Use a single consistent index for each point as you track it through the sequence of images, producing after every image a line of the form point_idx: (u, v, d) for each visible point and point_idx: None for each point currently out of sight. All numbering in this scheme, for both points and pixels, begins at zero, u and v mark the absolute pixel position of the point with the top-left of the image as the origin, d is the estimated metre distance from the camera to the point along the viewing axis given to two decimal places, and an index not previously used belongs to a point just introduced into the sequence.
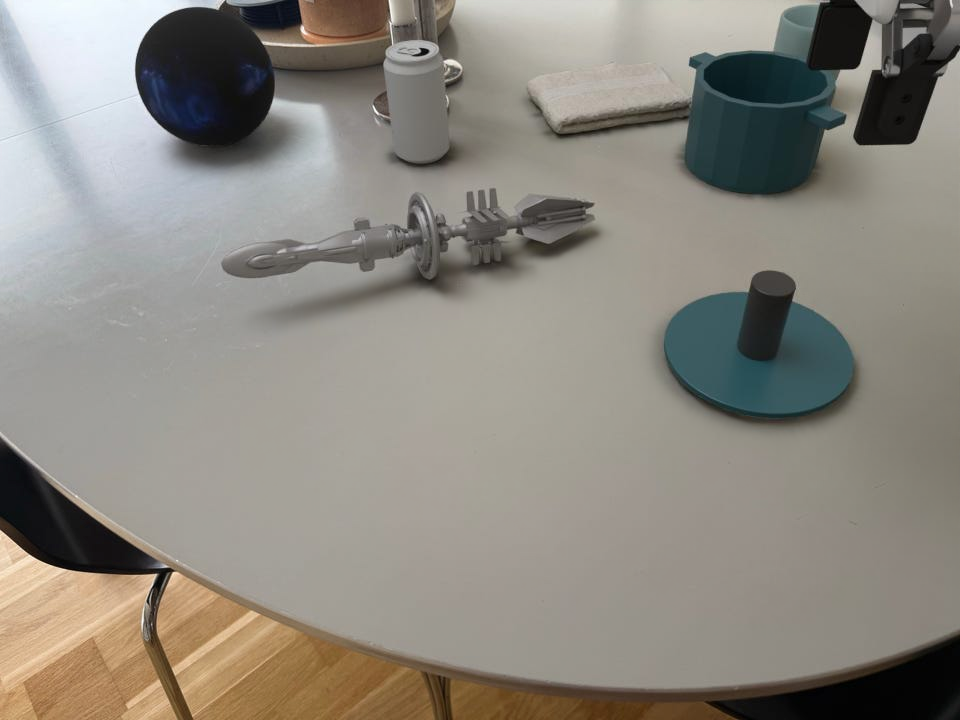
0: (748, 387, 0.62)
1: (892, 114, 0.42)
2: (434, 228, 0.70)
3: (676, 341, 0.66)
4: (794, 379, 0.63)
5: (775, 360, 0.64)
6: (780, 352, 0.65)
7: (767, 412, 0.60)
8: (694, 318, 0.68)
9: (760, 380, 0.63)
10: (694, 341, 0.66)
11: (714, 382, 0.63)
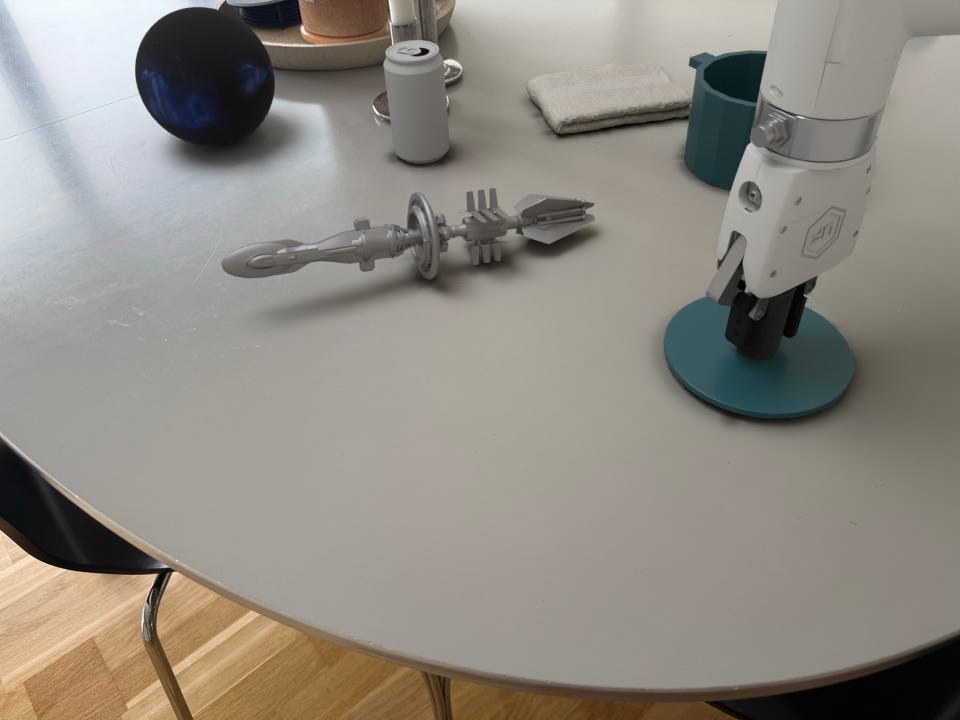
0: (748, 387, 0.62)
1: (733, 328, 0.62)
2: (434, 228, 0.70)
3: (676, 341, 0.66)
4: (794, 379, 0.63)
5: (775, 360, 0.64)
6: (780, 352, 0.65)
7: (767, 412, 0.60)
8: (694, 318, 0.68)
9: (760, 380, 0.63)
10: (694, 341, 0.66)
11: (714, 382, 0.63)
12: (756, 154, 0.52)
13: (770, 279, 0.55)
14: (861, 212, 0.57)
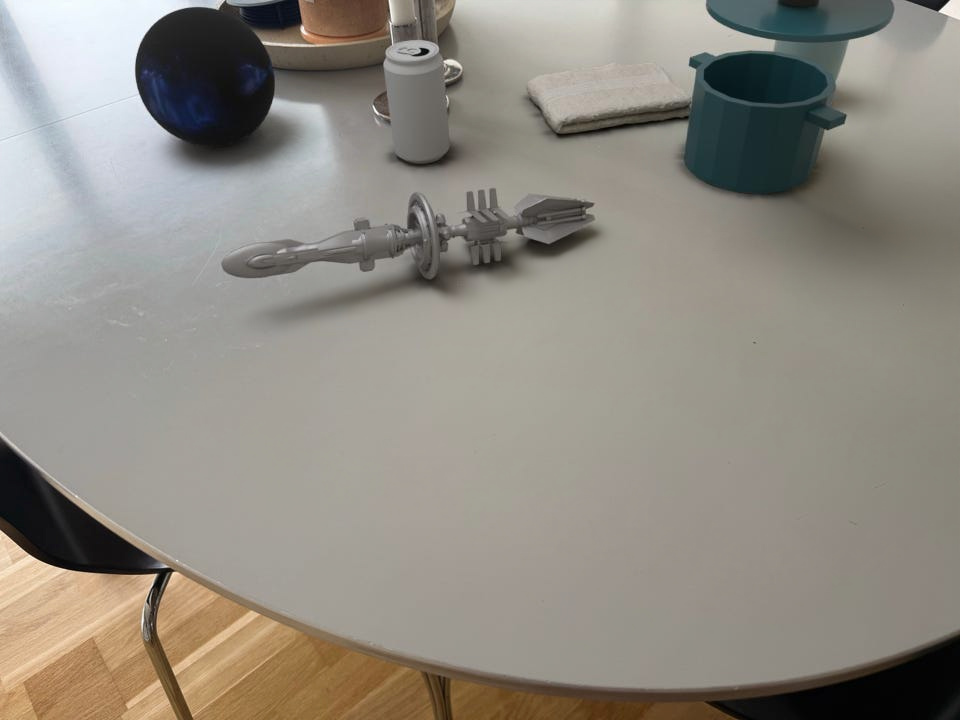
0: (792, 22, 0.63)
1: None
2: (434, 228, 0.70)
3: (718, 0, 0.68)
4: (837, 16, 0.64)
5: (817, 6, 0.65)
6: (821, 2, 0.66)
7: (813, 34, 0.61)
8: None
9: (804, 18, 0.64)
10: None
11: (759, 20, 0.64)
12: None
13: None
14: None
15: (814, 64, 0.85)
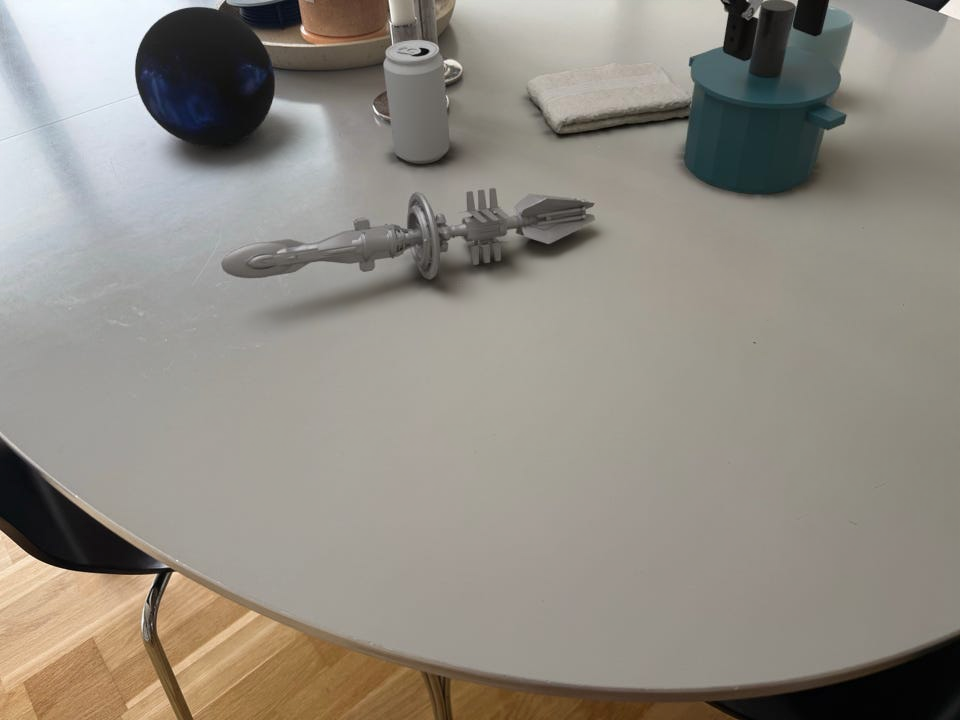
0: (758, 91, 0.79)
1: (729, 35, 0.77)
2: (434, 228, 0.70)
3: (700, 69, 0.83)
4: (794, 86, 0.80)
5: (779, 77, 0.81)
6: (783, 73, 0.82)
7: (773, 103, 0.77)
8: (714, 57, 0.85)
9: (767, 87, 0.80)
10: (715, 69, 0.83)
11: (731, 89, 0.80)
12: None
13: None
14: None
15: None
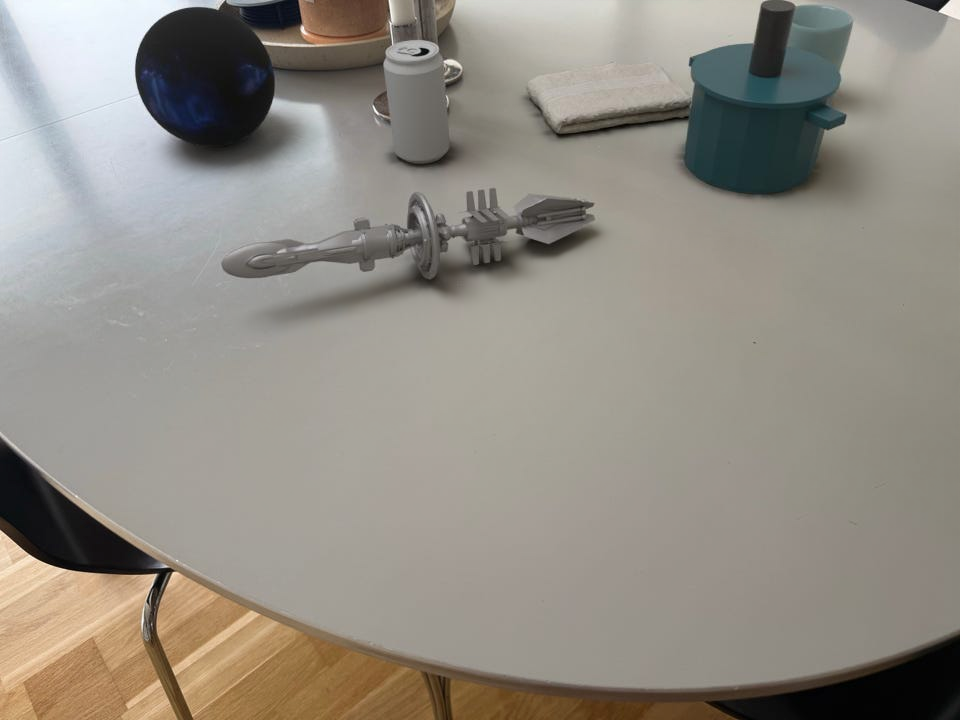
0: (758, 91, 0.79)
1: None
2: (434, 228, 0.70)
3: (700, 69, 0.83)
4: (794, 86, 0.80)
5: (779, 77, 0.81)
6: (783, 73, 0.82)
7: (773, 103, 0.77)
8: (714, 57, 0.85)
9: (767, 87, 0.80)
10: (715, 69, 0.83)
11: (731, 89, 0.80)
12: None
13: None
14: None
15: None
